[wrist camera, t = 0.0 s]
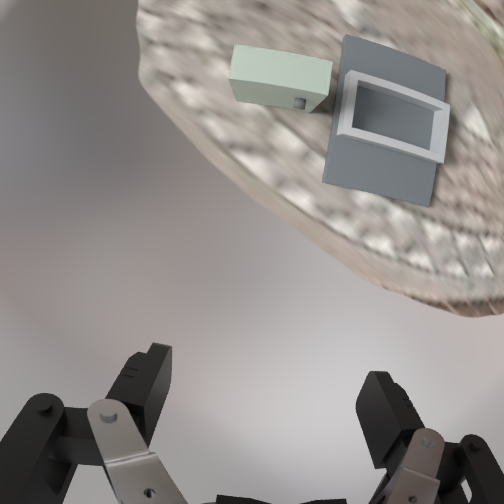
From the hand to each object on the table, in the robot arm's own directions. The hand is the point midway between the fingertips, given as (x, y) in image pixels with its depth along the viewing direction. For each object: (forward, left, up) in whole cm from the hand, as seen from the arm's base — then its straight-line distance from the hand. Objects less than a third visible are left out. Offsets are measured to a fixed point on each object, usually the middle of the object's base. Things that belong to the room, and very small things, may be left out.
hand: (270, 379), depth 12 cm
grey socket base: (-17, +14, -29) cm, 37 cm away
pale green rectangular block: (-17, -1, -29) cm, 34 cm away
